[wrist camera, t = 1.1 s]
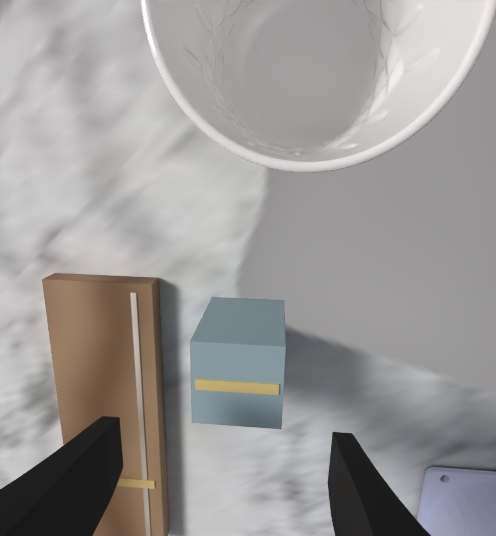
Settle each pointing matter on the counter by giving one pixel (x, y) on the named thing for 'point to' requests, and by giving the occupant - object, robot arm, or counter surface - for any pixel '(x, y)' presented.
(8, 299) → the counter surface
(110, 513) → the walnut board
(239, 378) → the block
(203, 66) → the white cup
